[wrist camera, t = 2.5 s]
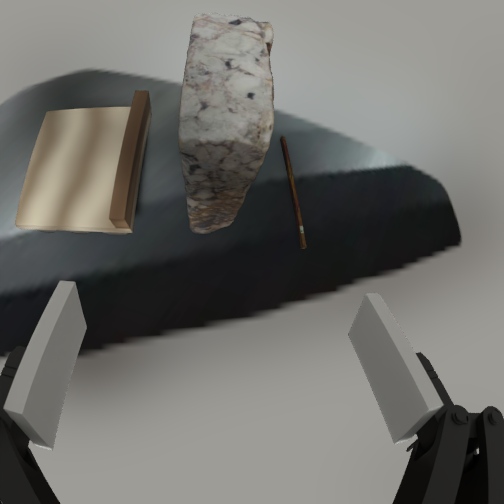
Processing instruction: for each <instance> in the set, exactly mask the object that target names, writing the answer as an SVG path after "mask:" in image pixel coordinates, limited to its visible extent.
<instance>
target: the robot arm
mask: <svg viewBox="0 0 504 504" xmlns="http://www.w3.org/2000/svg"><path fill="white" fill-rule="evenodd" d="M86 328H87V327H86V323H85V320H84V316H83V312H82V308H81V305H80V301H79V296H78V292H77V288H76V284H75V282H69V281H60V282H59V284H58V286H57V287H56V289H55V291H54V293H53V295H52V297H51V299H50V301H49V303H48V305H47V307H46V309H45V311H44V313H43V315H42V317H41V319H40V321H39V323H38V325H37V327H36V329H35V331H34V333H33V335H32V338H31V340H30V342H29V344H28V347H27V348H26V347H21V346H17V347H16V348H15V349H14V350H13V351H12V352H11V353H10V354H9V356H8V359H7V361H6V363H5V367H4V368H3V370H2V372H1V376H0V504H60V502H59V501H58V499H57V497H56V496H55V494H54V493H53V491H52V489H51V487H50V486H49V484H48V482H47V480H46V479H45V477H44V475H43V473H42V472H41V470H40V468H39V466H38V464H37V462H36V460H35V458H34V456H33V454H32V452H31V450H30V449H29V447H28V444H29V440H31V441H32V442H33V444H34V445H35V446H38V447H42V448H45V449H49V450H53V447H54V442H55V437H56V433H57V428H58V424H59V420H60V415H61V411H62V407H63V404H64V400H65V396H66V392H67V389H68V385H69V382H70V378H71V374H72V371H73V368H74V365H75V361H76V358H77V355H78V352H79V349H80V346H81V343H82V340H83V337H84V334H85V331H86ZM348 336H349V338H350V340H351V342H352V344H353V347H354V349H355V351H356V353H357V356H358V358H359V360H360V363H361V365H362V367H363V369H364V372H365V374H366V376H367V379H368V381H369V383H370V386H371V388H372V391H373V393H374V395H375V398H376V400H377V402H378V405H379V407H380V410H381V412H382V414H383V417H384V419H385V422H386V424H387V427H388V429H389V432H390V434H391V437H392V439H393V442H394V444H397V443H401V442H404V441H408V440H409V439H410V438H411V437H412V436H414V434H417V436H418V439H417V440H416V441H415V442H414V443H412V444H411V445H410V446H409V447H408V448H407V450H406V451H407V452H408V451H410V450H411V449H412V448H413V450H412V452H411V456H410V459H409V462H408V465H407V468H406V470H405V474H404V476H403V479H402V481H401V484H400V486H399V489H398V492H397V494H396V496H395V499H394V501H393V504H504V419H503V416H502V414H501V412H500V411H499V410H498V409H497V408H495V407H493V406H488V407H487V408H485V409H484V410H483V411H482V412H481V413H468V412H467V411H466V409H465V408H463V407H462V406H459V405H454V404H453V402H452V401H451V399H450V397H449V395H448V393H447V392H446V390H445V388H444V386H443V384H442V382H441V381H440V379H439V378H438V375H437V374H436V372H435V371H434V369H433V367H432V365H431V363H430V361H429V360H428V359H427V358H426V357H425V356H424V355H423V354H422V353H421V352H420V353H415V352H414V350H413V348H412V347H411V345H410V343H409V341H408V340H407V338H406V336H405V335H404V333H403V331H402V330H401V328H400V326H399V325H398V323H397V322H396V320H395V319H394V317H393V315H392V313H391V312H390V310H389V309H388V307H387V305H386V304H385V302H384V300H383V299H382V297H381V296H380V294H379V293H370V294H369V293H368V294H367V293H366V294H365V296H364V299H363V301H362V304H361V306H360V308H359V311H358V313H357V315H356V318H355V320H354V322H353V324H352V327H351V329H350V331H349V333H348ZM478 448H479V454H477V452H476V449H478ZM1 501H2V503H1Z"/></svg>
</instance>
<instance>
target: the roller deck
mask: <svg viewBox="0 0 504 504" xmlns="http://www.w3.org/2000/svg"><path fill="white" fill-rule="evenodd" d="M151 115H152V114H151V106H150V98H149V91H135V94H134V98H133V102H132V105H131V107H101V108H81V109H67V110H56V111H47V113H46V116H45V118H44V121H43V124H42V126H41V129H40V132H39V135H38V138H37V141H36V144H35V147H34V150H33V153H32V156H31V160H30V163H29V167H28V170H27V174H26V177H25V181H24V185H23V189H22V193H21V197H20V202H19V206H18V211H17V216H16V221H15V225H16V226H17V227H19V228H20V229H35V230H38V231H41V232H48V233H51V232H55V230H67V231H69V232H72V233H78V234H87V233H89V231H95V232H103V233H106V234H110V235H125V234H127V233H133V226H134V217H135V209H136V202H137V194H138V187H139V181H140V174H141V168H142V162H143V156H144V150H145V145H146V139H147V134H148V129H149V124H150V119H151Z"/></svg>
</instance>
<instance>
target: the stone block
mask: <svg viewBox="0 0 504 504" xmlns="http://www.w3.org/2000/svg"><path fill="white" fill-rule="evenodd" d="M272 43H273V28H272V25H271V24H270V23H269V22H258V21H255V20H253V19H251V18H243V17H239V16H235V15H234V16H233V15H228V16H226V15H220V14H218V13H210V14H197V15H195V17H194V20H193V24H192V30H191V36H190V43H189V48H188V51H187V61H186V66H185V72H184V79H183V86H182V94H181V101H180V112H179V130H178V140H179V150H180V154H181V160H182V170H183V176H184V179H185V190H186V197H187V206H188V216H189V220H190V229H191V230H192V232H194V233H197V234H208V233H210V232H213V231H216V230H217V229H219V228H223V227H226V226H229V225H230V224H231V223H232V222H233V221H234V218H235V216H236V215H237V213H238V210H239V209H240V207H241V206H242V204H243V202H244V199H245V195H246V193H247V191H248V190H249V188H250V185H251V183H252V182H253V181H254V180H255V179H256V176H257V174H258V171H259V168H260V166H261V165H262V164H263V161H264V158H265V155H266V152H267V150H268V148H269V145H270V139H271V135H272V131H273V125H274V105H273V100H274V88H273V76H272V72H271V69H270V68H271V67H270V58H269V57H270V51H271V47H272Z"/></svg>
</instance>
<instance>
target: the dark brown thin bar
mask: <svg viewBox="0 0 504 504" xmlns="http://www.w3.org/2000/svg"><path fill="white" fill-rule="evenodd" d="M280 141H281V146H282V151H283V155H284V160H285V165H286V170H287V175H288V180H289V185H290V190H291V196H292V201H293V206H294V211H295V216H296V222H297V227H298V233H299V239H300V245H301V249H305V248H306V242H305V236H304V230H303V225H302V219H301V214H300V209H299V203H298V198H297V193H296V188H295V183H294V178H293V173H292V168H291V163H290V159H289V154H288V150H287V145H286V141H285V137H281V139H280Z"/></svg>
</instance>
